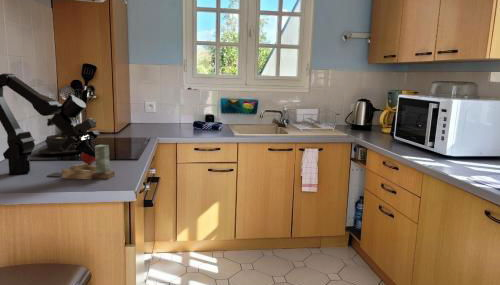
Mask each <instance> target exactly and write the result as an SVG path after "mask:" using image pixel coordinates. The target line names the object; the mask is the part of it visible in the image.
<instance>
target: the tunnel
mask: <svg viewBox="0 0 500 285" xmlns="http://www.w3.org/2000/svg"><path fill="white" fill-rule="evenodd" d="M95 171H96V165H88V163H85V162H82V163H80V164H72V167H70V168H62V169H61V173H62V179H74V180H76V179H77V180H93V178H92V172H95Z"/></svg>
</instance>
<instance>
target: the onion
mask: <svg viewBox="0 0 500 285" xmlns="http://www.w3.org/2000/svg"><path fill="white" fill-rule="evenodd" d="M80 158H81V161H82V163H88V166H91V165H92V164H93V163H94V162H96V159H95V157H93V156H90V155H88V154H85V153H82V152H81V155H80Z"/></svg>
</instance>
